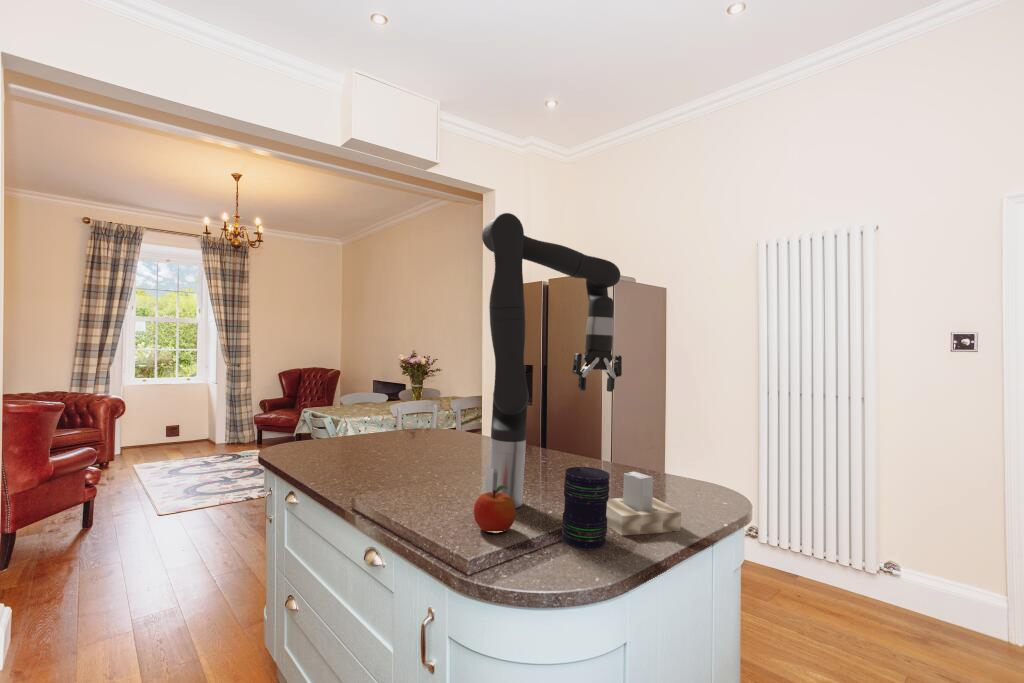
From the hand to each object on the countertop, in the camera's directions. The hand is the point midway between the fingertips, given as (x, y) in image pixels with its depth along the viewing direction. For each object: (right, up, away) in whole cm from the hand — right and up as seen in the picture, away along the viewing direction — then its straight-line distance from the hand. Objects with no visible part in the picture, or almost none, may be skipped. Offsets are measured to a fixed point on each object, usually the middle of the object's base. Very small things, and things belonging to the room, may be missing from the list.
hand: (596, 391), depth 142 cm
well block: (+7, -31, -19) cm, 37 cm away
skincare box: (+7, -31, -19) cm, 37 cm away
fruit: (-28, -29, -29) cm, 49 cm away
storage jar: (-8, -30, -32) cm, 44 cm away
